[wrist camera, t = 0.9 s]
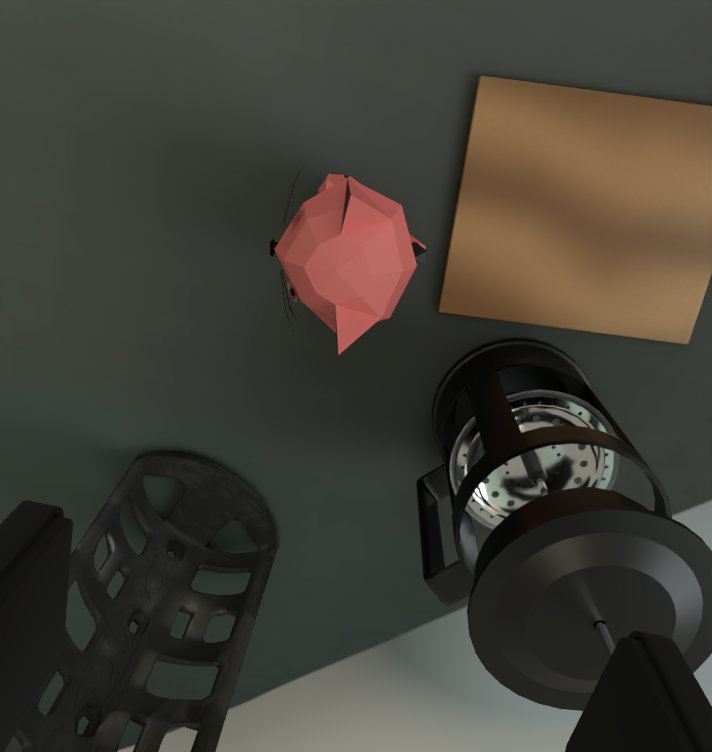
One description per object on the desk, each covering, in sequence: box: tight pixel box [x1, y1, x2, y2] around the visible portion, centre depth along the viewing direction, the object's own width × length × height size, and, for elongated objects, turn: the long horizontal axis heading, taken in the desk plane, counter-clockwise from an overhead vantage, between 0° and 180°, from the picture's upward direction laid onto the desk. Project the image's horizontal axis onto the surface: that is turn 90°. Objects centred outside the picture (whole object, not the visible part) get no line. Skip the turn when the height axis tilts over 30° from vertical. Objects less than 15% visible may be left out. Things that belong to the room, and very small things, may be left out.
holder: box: [14, 451, 279, 752], centre depth 33 cm, size 11×8×20 cm
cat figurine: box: [270, 166, 427, 354], centre depth 29 cm, size 7×7×12 cm
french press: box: [417, 338, 712, 711], centre depth 27 cm, size 12×9×23 cm
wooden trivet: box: [438, 76, 712, 344], centre depth 33 cm, size 12×14×1 cm
